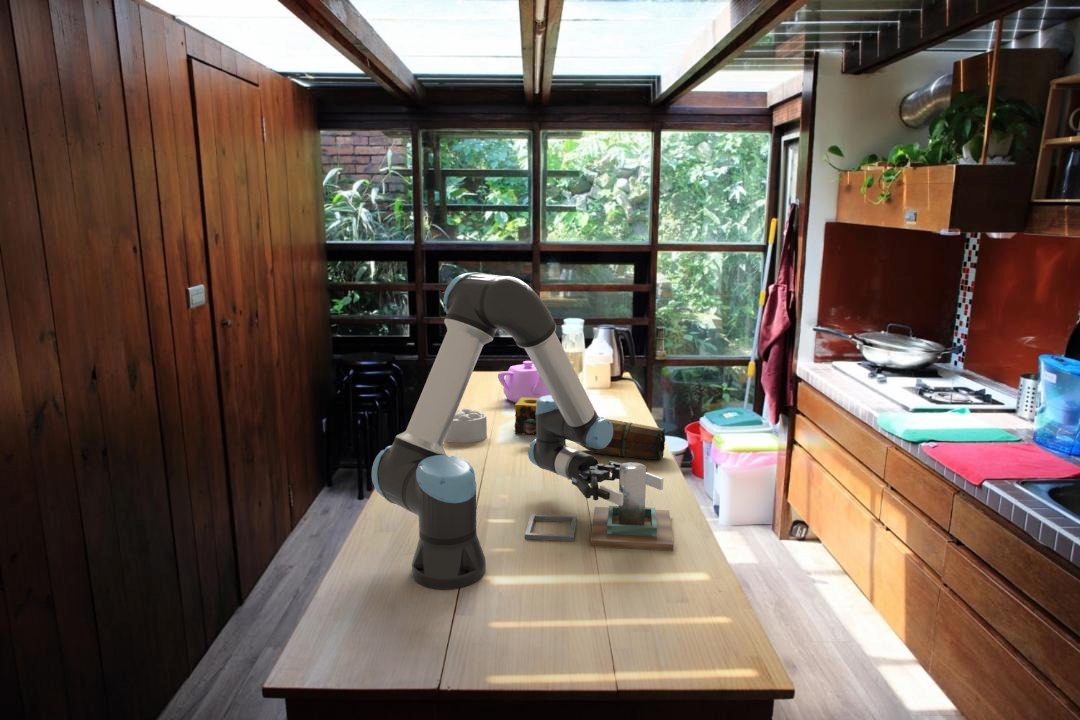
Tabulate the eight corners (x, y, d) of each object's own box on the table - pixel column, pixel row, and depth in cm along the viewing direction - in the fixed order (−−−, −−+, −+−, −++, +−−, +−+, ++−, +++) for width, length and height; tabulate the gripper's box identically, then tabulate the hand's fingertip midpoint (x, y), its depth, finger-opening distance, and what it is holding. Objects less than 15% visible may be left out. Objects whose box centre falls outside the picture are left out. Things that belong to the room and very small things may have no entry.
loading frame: (573, 541, 165) (573, 537, 165) (524, 538, 167) (524, 534, 166) (576, 520, 176) (576, 516, 176) (531, 517, 177) (531, 514, 177)
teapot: (489, 399, 281) (488, 360, 278) (538, 392, 291) (538, 355, 288) (515, 414, 262) (515, 373, 258) (566, 406, 271) (567, 366, 268)
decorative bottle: (669, 442, 222) (530, 424, 237) (667, 418, 215) (524, 401, 230) (662, 470, 214) (519, 449, 230) (659, 446, 207) (513, 426, 223)
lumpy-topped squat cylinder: (448, 432, 242) (447, 407, 240) (488, 432, 242) (487, 407, 240) (444, 442, 232) (443, 416, 230) (485, 442, 231) (485, 416, 230)
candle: (544, 436, 238) (544, 406, 236) (514, 434, 240) (513, 404, 238) (550, 426, 247) (550, 398, 245) (521, 425, 249) (520, 396, 247)
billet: (644, 530, 167) (646, 472, 164) (618, 529, 168) (619, 471, 165) (644, 519, 173) (645, 463, 170) (618, 518, 173) (619, 462, 171)
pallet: (673, 550, 161) (673, 536, 160) (590, 546, 163) (590, 531, 162) (668, 516, 178) (669, 502, 177) (594, 512, 180) (594, 499, 180)
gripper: (612, 468, 190) (677, 493, 175) (539, 493, 174) (603, 523, 159) (612, 441, 189) (678, 463, 173) (539, 463, 173) (604, 490, 157)
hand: (642, 491), depth 166 cm, fingers open, 13 cm apart
